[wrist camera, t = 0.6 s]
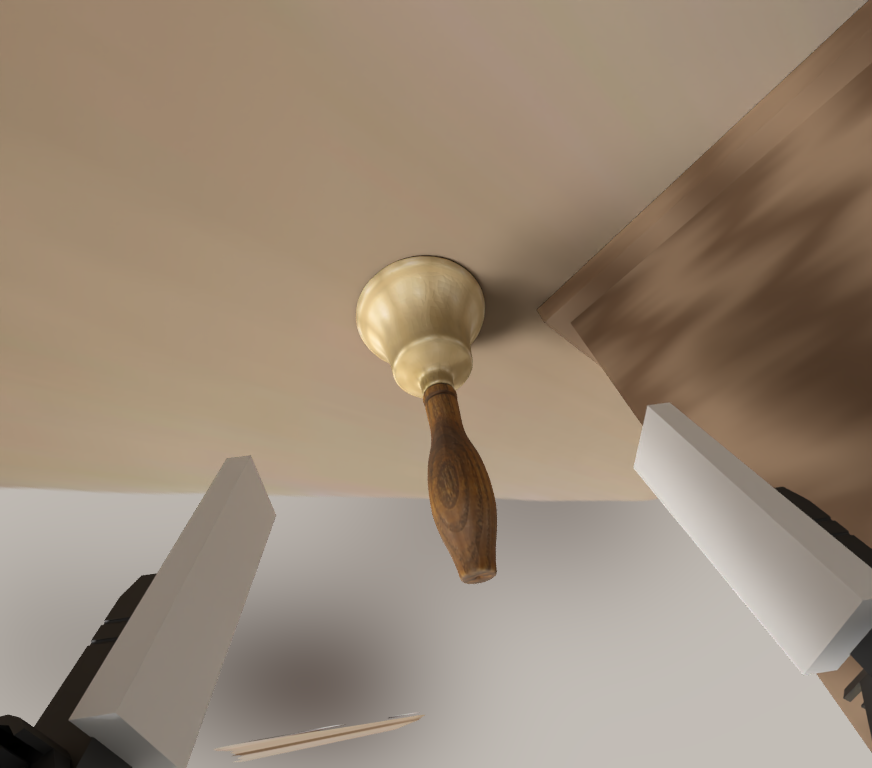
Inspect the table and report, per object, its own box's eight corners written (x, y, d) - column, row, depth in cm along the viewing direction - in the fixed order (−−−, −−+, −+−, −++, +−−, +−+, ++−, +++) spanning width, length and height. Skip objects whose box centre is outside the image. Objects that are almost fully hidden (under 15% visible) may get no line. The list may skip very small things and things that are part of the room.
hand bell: (509, 285, 24) (647, 530, 12) (446, 377, 28) (504, 616, 17) (386, 231, 20) (417, 499, 9) (338, 345, 25) (318, 618, 13)
